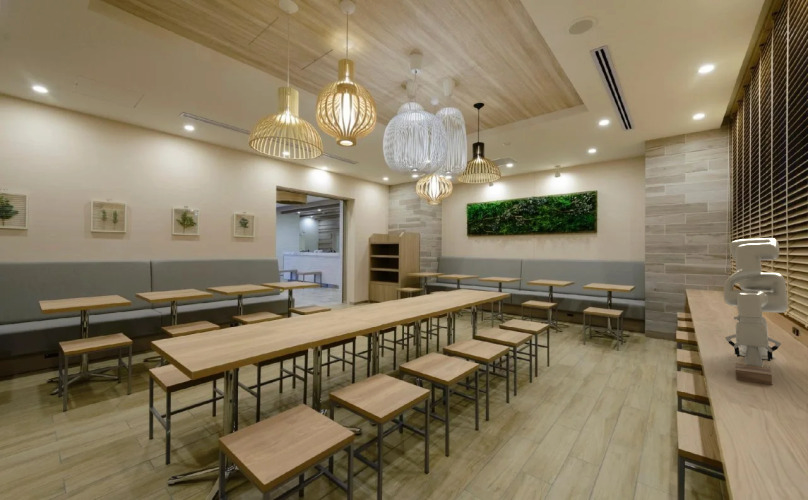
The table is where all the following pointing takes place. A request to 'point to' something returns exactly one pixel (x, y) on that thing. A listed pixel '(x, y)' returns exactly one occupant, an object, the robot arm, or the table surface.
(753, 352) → the salt shaker
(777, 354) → the table surface
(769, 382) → the block
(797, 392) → the table surface
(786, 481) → the table surface
